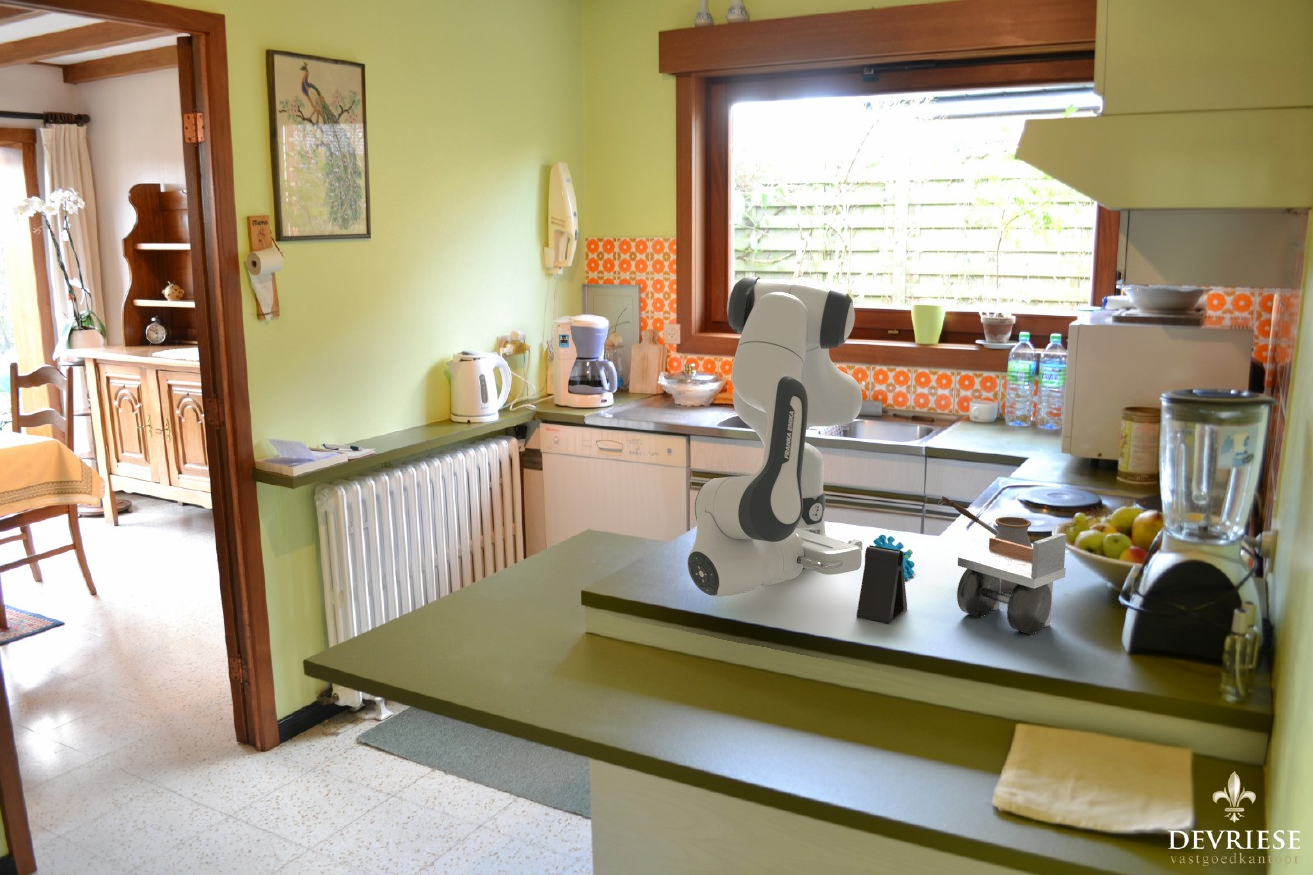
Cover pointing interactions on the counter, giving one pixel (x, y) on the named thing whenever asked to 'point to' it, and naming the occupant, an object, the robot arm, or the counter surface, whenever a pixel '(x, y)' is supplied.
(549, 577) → the counter surface
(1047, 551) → the trolley
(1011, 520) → the coffee pot
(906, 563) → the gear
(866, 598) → the phone stand
